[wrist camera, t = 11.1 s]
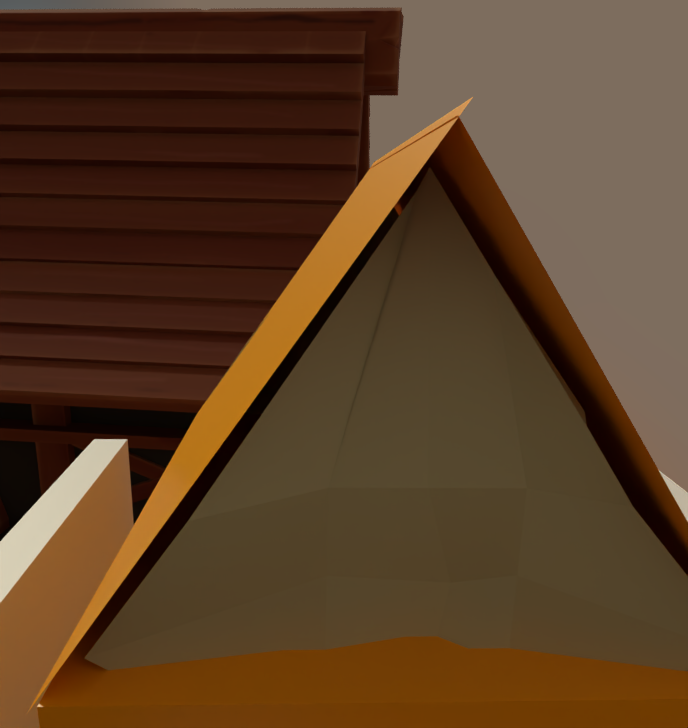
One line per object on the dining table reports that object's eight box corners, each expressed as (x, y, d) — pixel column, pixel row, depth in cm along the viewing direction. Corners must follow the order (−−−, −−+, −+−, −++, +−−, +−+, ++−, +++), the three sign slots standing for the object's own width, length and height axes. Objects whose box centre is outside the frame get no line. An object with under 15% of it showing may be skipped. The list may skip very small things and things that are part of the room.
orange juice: (478, 869, 18) (553, 166, 13) (617, 1451, 10) (984, 108, 5) (214, 876, 18) (184, 157, 13) (120, 1486, 9) (-84, 75, 4)
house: (386, 451, 51) (403, 70, 43) (368, 740, 24) (403, -155, 16) (-14, 428, 54) (-62, 67, 46) (-443, 661, 26) (-728, -126, 19)
